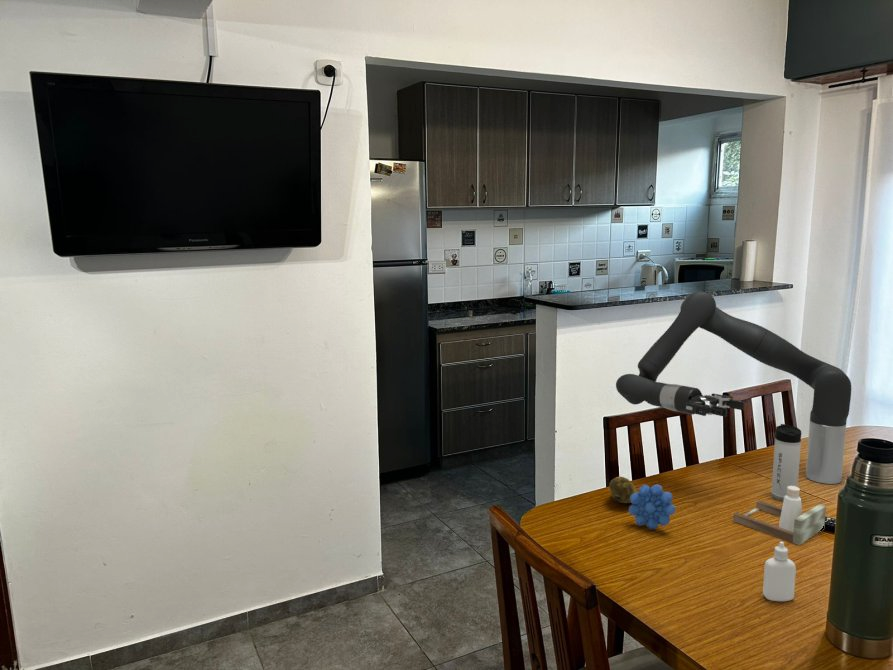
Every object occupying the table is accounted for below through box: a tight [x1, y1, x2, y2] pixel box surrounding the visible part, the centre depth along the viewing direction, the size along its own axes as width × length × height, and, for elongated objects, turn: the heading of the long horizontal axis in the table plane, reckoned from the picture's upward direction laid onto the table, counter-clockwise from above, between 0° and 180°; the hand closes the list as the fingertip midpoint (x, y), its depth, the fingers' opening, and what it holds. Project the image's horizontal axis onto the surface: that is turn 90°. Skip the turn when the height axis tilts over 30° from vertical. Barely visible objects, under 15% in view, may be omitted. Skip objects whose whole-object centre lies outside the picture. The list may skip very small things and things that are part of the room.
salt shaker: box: [778, 486, 803, 532], centre depth 165 cm, size 5×5×11 cm
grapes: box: [628, 484, 676, 530], centre depth 167 cm, size 12×7×12 cm, turn 53°
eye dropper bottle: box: [762, 541, 797, 602], centre depth 136 cm, size 4×6×12 cm
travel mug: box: [770, 423, 802, 502], centre depth 183 cm, size 6×7×20 cm
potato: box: [608, 476, 638, 504], centre depth 183 cm, size 8×13×8 cm, turn 141°
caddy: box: [732, 499, 827, 546], centre depth 168 cm, size 13×16×6 cm
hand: (735, 409), depth 177 cm, fingers open, 8 cm apart
